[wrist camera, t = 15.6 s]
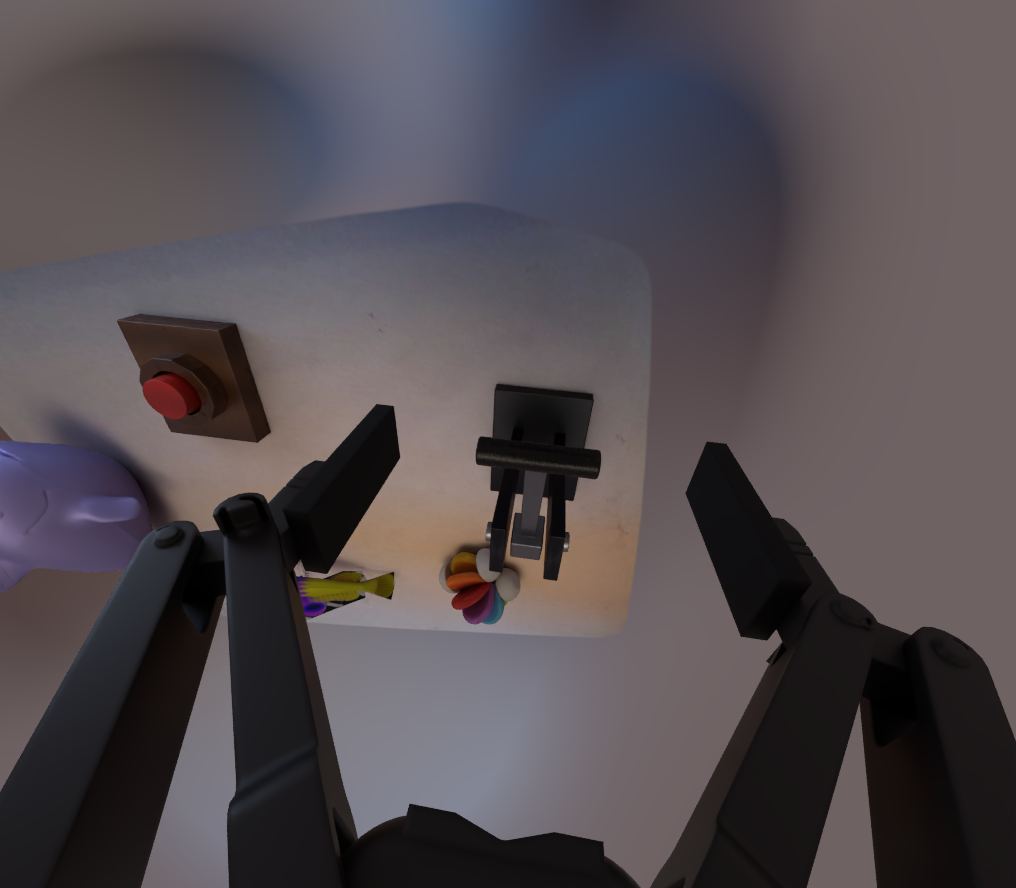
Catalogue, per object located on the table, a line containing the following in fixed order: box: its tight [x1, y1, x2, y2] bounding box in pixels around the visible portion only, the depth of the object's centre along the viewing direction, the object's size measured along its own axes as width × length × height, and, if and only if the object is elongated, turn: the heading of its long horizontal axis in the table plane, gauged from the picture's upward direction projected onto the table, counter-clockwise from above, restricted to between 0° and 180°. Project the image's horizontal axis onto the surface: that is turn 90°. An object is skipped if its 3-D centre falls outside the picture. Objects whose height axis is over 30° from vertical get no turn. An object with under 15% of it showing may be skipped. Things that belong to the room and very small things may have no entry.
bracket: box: [486, 384, 594, 581], centre depth 33 cm, size 12×9×15 cm
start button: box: [143, 373, 201, 419], centre depth 36 cm, size 4×4×2 cm
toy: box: [296, 571, 394, 619], centre depth 51 cm, size 12×19×10 cm, turn 84°
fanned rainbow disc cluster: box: [439, 549, 520, 624], centre depth 48 cm, size 8×10×7 cm
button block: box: [117, 314, 270, 443], centre depth 38 cm, size 12×10×4 cm
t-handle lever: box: [476, 436, 601, 560], centre depth 24 cm, size 13×6×2 cm, turn 177°
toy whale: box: [0, 441, 153, 593], centre depth 45 cm, size 14×25×16 cm, turn 12°
